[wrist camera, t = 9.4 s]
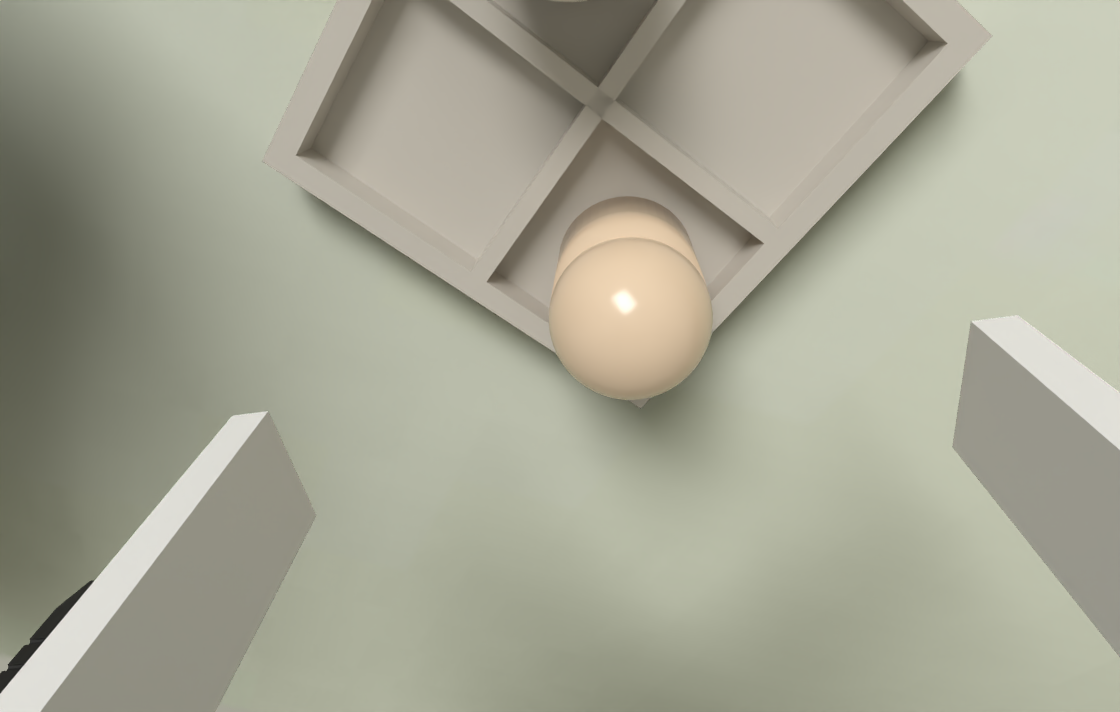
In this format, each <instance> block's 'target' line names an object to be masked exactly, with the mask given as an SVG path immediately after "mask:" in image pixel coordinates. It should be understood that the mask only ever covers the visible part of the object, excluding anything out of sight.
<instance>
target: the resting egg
mask: <svg viewBox="0 0 1120 712" xmlns="http://www.w3.org/2000/svg"><path fill="white" fill-rule="evenodd" d="M550 1H555V2H580V1H588V0H550Z"/></svg>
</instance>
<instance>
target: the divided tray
mask: <svg viewBox="0 0 1120 712" xmlns="http://www.w3.org/2000/svg"><path fill="white" fill-rule="evenodd" d="M991 37H992V35H991V34H990V33H989V32H988V31H987V30H986V29H985V28H984V27H983V26H982V25H981V24H980V23H979V22H978V21H977V20H976V19H975V18H974V17H973V16H972V15H971V14H970V13H969V12H968V11H967V10H966V9H965V8H964V7H963V6H962V5H961V4H960V3H959V2H958V1H957V0H588V1H580V2H555V1H550V0H337V2H336V4H335V6H334V8H333V10H332V12H331V14H330V17H329V19H328V21H327V23H326V25H325V27H324V29H323V32H322V34H321V36H320V38H319V40H318V42H317V44H316V47H315V49H314V51H313V53H312V55H311V57H310V59H309V61H308V64H307V66H306V68H305V70H304V72H303V74H302V76H301V79H300V81H299V83H298V85H297V87H296V89H295V91H294V94H293V96H292V98H291V100H290V102H289V104H288V106H287V109H286V111H285V113H284V115H283V117H282V119H281V121H280V124H279V126H278V128H277V130H276V132H275V134H274V136H273V139H272V141H271V143H270V145H269V147H268V149H267V151H266V153H265V156H264V158H263V160H262V162H264V163H265V164H267V165H268V166H270V167H271V168H273V169H274V170H276V171H277V172H279V173H281V174H282V175H284V176H285V177H287V178H288V179H290V180H291V181H293V182H294V183H296V184H297V185H299V186H300V187H302V188H303V189H305V190H307V191H308V192H310V193H311V194H313V195H314V196H316V197H317V198H319V199H320V200H322V201H323V202H325V203H326V204H328V205H329V206H331V207H333V208H334V209H336V210H337V211H339V212H340V213H342V214H343V215H345V216H346V217H348V218H349V219H351V220H352V221H354V222H356V223H357V224H359V225H360V226H362V227H363V228H365V229H366V230H368V231H369V232H371V233H372V234H374V235H375V236H377V237H378V238H380V239H382V240H383V241H385V242H386V243H388V244H389V245H391V246H392V247H394V248H395V249H397V250H398V251H400V252H401V253H403V254H405V255H406V256H408V257H409V258H411V259H412V260H414V261H415V262H417V263H418V264H420V265H421V266H423V267H424V268H426V269H427V270H429V271H431V272H432V273H434V274H435V275H437V276H438V277H440V278H441V279H443V280H444V281H446V282H447V283H449V284H450V285H452V286H454V287H455V288H457V289H458V290H460V291H461V292H463V293H464V294H466V295H467V296H469V297H470V298H472V299H473V300H475V301H476V302H478V303H480V304H481V305H483V306H484V307H486V308H487V309H489V310H490V311H492V312H493V313H495V314H496V315H498V316H499V317H501V318H502V319H504V320H506V321H507V322H509V323H510V324H512V325H513V326H515V327H516V328H518V329H519V330H521V331H522V332H524V333H525V334H527V335H529V336H530V337H532V338H533V339H535V340H536V341H538V342H539V343H541V344H542V345H544V346H545V347H547V348H548V349H550V350H551V351H553V352H555V353H556V351H555V349H554V347H553V343H552V340H551V336H550V331H549V306H550V300H551V295H552V289H553V284H554V278H555V273H556V267H557V262H558V257H559V251H560V246H561V243H562V240H563V237H564V235H565V233H566V231H567V230H568V228H569V226H570V225H571V223H572V222H573V221H574V220H575V219H576V218H577V217H578V216H579V215H580V214H581V213H582V212H583V211H585V210H586V209H588V208H589V207H591V206H592V205H594V204H596V203H598V202H601V201H603V200H606V199H610V198H614V197H622V196H633V197H640V198H645V199H649V200H652V201H654V202H656V203H658V204H661V205H662V206H664V207H665V208H667V209H668V210H670V211H671V212H672V213H673V214H674V215H675V216H676V217H677V218H678V219H679V220H680V221H681V223H682V224H683V226H684V227H685V229H686V231H687V233H688V235H689V237H690V240H691V243H692V246H693V249H694V251H695V254H696V257H697V260H698V263H699V265H700V268H701V271H702V274H703V277H704V279H705V282H706V286H707V288H708V291H709V294H710V298H711V303H712V310H713V325H712V332H711V334H712V333H713V332H714V331H715V329H716V328H717V327H718V326H719V325H720V324H721V323H722V322H723V321H724V320H725V319H726V318H727V317H728V316H729V315H730V314H731V313H732V311H733V310H734V309H735V308H736V307H737V306H738V305H739V304H740V303H741V302H742V301H743V300H744V299H745V298H746V297H747V296H748V295H749V293H750V292H751V291H752V290H753V289H754V288H755V287H756V286H757V285H758V284H759V283H760V282H761V281H762V280H763V279H764V278H765V277H766V275H767V274H768V273H769V272H770V271H771V270H772V269H773V268H774V267H775V266H776V265H777V264H778V263H779V262H780V261H781V260H782V259H783V257H784V256H785V255H786V254H787V253H788V252H789V251H790V250H791V249H792V248H793V247H794V246H795V245H796V244H797V243H798V242H799V241H800V239H801V238H802V237H803V236H804V235H805V234H806V233H807V232H808V231H809V230H810V229H811V228H812V227H813V226H814V225H815V224H816V223H817V221H818V220H819V219H820V218H821V217H822V216H823V215H824V214H825V213H826V212H827V211H828V210H829V209H830V208H831V207H832V206H833V205H834V203H835V202H836V201H837V200H838V199H839V198H840V197H841V196H842V195H843V194H844V193H845V192H846V191H847V190H848V189H849V188H850V187H851V186H852V184H853V183H854V182H855V181H856V180H857V179H858V178H859V177H860V176H861V175H862V174H863V173H864V172H865V171H866V170H867V169H868V168H869V166H870V165H871V164H872V163H873V162H874V161H875V160H876V159H877V158H878V157H879V156H880V155H881V154H882V153H883V152H884V151H885V150H886V148H887V147H888V146H889V145H890V144H891V143H892V142H893V141H894V140H895V139H896V138H897V137H898V136H899V135H900V134H901V133H902V132H903V130H904V129H905V128H906V127H907V126H908V125H909V124H910V123H911V122H912V121H913V120H914V119H915V118H916V117H917V116H918V115H919V114H920V112H921V111H922V110H923V109H924V108H925V107H926V106H927V105H928V104H929V103H930V102H931V101H932V100H933V99H934V98H935V97H936V96H937V94H938V93H939V92H940V91H941V90H942V89H943V88H944V87H945V86H946V85H947V84H948V83H949V82H950V81H951V80H952V79H953V78H954V76H955V75H956V74H957V73H958V72H959V71H960V70H961V69H962V68H963V67H964V66H965V65H966V64H967V63H968V62H969V61H970V60H971V58H972V57H973V56H974V55H975V54H976V53H977V52H978V51H979V50H980V49H981V48H982V47H983V46H984V45H985V44H986V43H987V42H988V40H989V39H990V38H991ZM650 398H651V397H650ZM650 398H645V399H638V400H628V401H630V402H631V403H633V404H634V405H636V406H637V407H639V408H640V409H641V408H642V407H643V406H644V405H645V404H646V403H647V401H648V400H649V399H650Z"/></svg>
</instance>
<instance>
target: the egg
mask: <svg viewBox="0 0 1120 712" xmlns="http://www.w3.org/2000/svg"><path fill="white" fill-rule="evenodd" d="M712 325H713V310H712V303H711V298H710V294H709V291H708V288H707V286H706V282H705V279H704V277H703V274H702V271H701V268H700V265H699V263H698V260H697V257H696V254H695V251H694V249H693V246H692V243H691V240H690V237H689V235H688V233H687V231H686V229H685V227H684V226H683V224H682V223H681V221H680V220H679V219H678V218H677V217H676V216H675V215H674V214H673V213H672V212H671V211H670V210H668V209H667V208H665V207H664V206H662V205H661V204H658V203H656V202H654V201H652V200H649V199H645V198H640V197H633V196H622V197H614V198H610V199H606V200H603V201H601V202H598V203H596V204H594V205H592V206H591V207H589V208H588V209H586V210H585V211H583V212H582V213H581V214H580V215H579V216H578V217H577V218H576V219H575V220H574V221H573V222H572V223H571V225H570V226H569V228H568V230H567V231H566V233H565V235H564V237H563V240H562V243H561V246H560V251H559V257H558V262H557V267H556V273H555V278H554V284H553V289H552V295H551V300H550V306H549V331H550V336H551V340H552V343H553V347H554V349H555V351H556V354H557V356H558V357H559V359H560V361H561V362H562V364H563V365H564V367H565V368H566V369H567V371H568V372H569V373H570V374H571V375H572V376H573V377H574V378H575V379H576V380H577V381H579V382H580V383H581V384H583V385H584V386H585V387H587V388H589V389H590V390H592V391H594V392H596V393H599V394H601V395H604V396H607V397H610V398H615V399H623V400H638V399H645V398H650V397H653V396H657V395H660V394H662V393H664V392H667V391H668V390H670V389H672V388H674V387H675V386H677V385H678V384H680V383H681V382H682V381H683V380H684V379H685V378H687V377H688V376H689V375H690V374H691V373H692V372H693V370H694V369H695V368H696V367H697V365H698V364H699V362H700V361H701V359H702V357H703V355H704V353H705V351H706V349H707V347H708V344H709V341H710V338H711V332H712Z"/></svg>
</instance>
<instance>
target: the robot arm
mask: <svg viewBox="0 0 1120 712" xmlns="http://www.w3.org/2000/svg"><path fill="white" fill-rule="evenodd" d="M952 447H953V449H954V450H955V451H956V452H957V454H958V455H959V456H960V457H961V459H962V460H963V461H964V462H965V464H966V465H967V466H968V467H969V469H970V470H971V471H972V472H973V474H974V475H975V476H976V477H977V479H978V480H979V481H980V482H981V484H982V485H983V486H984V487H985V489H986V490H987V491H988V492H989V494H990V495H991V496H992V497H993V499H994V500H995V501H996V502H997V504H998V505H999V506H1000V507H1001V509H1002V510H1003V511H1004V513H1005V514H1006V515H1007V516H1008V518H1009V519H1010V520H1011V521H1012V523H1013V524H1014V525H1015V526H1016V528H1017V529H1018V530H1019V531H1020V533H1021V534H1022V535H1023V536H1024V538H1025V539H1026V540H1027V541H1028V543H1029V544H1030V545H1031V546H1032V548H1033V549H1034V550H1035V551H1036V553H1037V554H1038V555H1039V556H1040V558H1041V559H1042V560H1043V561H1044V563H1045V564H1046V565H1047V566H1048V568H1049V569H1050V570H1051V571H1052V573H1053V574H1054V575H1055V576H1056V578H1057V579H1058V580H1059V582H1060V583H1061V584H1062V585H1063V587H1064V588H1065V589H1066V590H1067V592H1068V593H1069V594H1070V595H1071V597H1072V598H1073V599H1074V600H1075V602H1076V603H1077V604H1078V605H1079V607H1080V608H1081V609H1082V610H1083V612H1084V613H1085V614H1086V615H1087V617H1088V618H1089V619H1090V620H1091V622H1092V623H1093V624H1094V625H1095V627H1096V628H1097V629H1098V630H1099V632H1100V633H1101V634H1102V635H1103V637H1104V638H1105V639H1106V640H1107V642H1108V643H1109V644H1110V646H1111V647H1112V648H1113V649H1114V651H1115V652H1116V653H1117V654H1118V656H1119V657H1120V392H1118V391H1117V390H1116V389H1114V388H1113V387H1112V386H1111V385H1109V384H1108V383H1107V382H1105V381H1104V380H1103V379H1101V378H1100V377H1099V376H1097V375H1096V374H1095V373H1093V372H1092V371H1091V370H1089V369H1088V368H1087V367H1085V366H1084V365H1083V364H1081V363H1080V362H1079V361H1077V360H1076V359H1075V358H1074V357H1072V356H1071V355H1070V354H1068V353H1067V352H1066V351H1064V350H1063V349H1062V348H1060V347H1059V346H1058V345H1056V344H1055V343H1054V342H1052V341H1051V340H1050V339H1048V338H1047V337H1046V336H1044V335H1043V334H1042V333H1041V332H1039V331H1038V330H1037V329H1035V328H1034V327H1033V326H1031V325H1030V324H1029V323H1027V322H1026V321H1025V320H1023V319H1022V318H1021V317H1019V316H1018V315H1016V316H1008V317H1000V318H992V319H984V320H976V321H971V324H970V331H969V338H968V345H967V351H966V358H965V365H964V372H963V378H962V385H961V392H960V399H959V406H958V412H957V419H956V426H955V433H954V439H953V446H952ZM315 517H316V513H315V511H314V509H313V507H312V505H311V502H310V500H309V498H308V496H307V494H306V492H305V489H304V487H303V485H302V483H301V481H300V479H299V476H298V474H297V472H296V470H295V468H294V466H293V463H292V461H291V459H290V457H289V455H288V453H287V451H286V448H285V446H284V444H283V442H282V440H281V438H280V435H279V433H278V431H277V429H276V427H275V425H274V422H273V420H272V418H271V416H270V414H269V412H268V411H265V412H257V413H249V414H242V415H234V416H232V417H231V418H230V419H229V420H228V421H227V423H226V424H225V425H224V426H223V427H222V429H221V430H220V431H219V432H218V433H217V435H216V436H215V437H214V438H213V439H212V441H211V442H210V443H209V444H208V445H207V447H206V448H205V449H204V450H203V451H202V453H201V454H200V455H199V456H198V457H197V459H196V460H195V461H194V462H193V463H192V465H191V466H190V467H189V468H188V469H187V471H186V472H185V473H184V474H183V475H182V476H181V478H180V479H179V480H178V481H177V482H176V484H175V485H174V486H173V487H172V488H171V490H170V491H169V492H168V493H167V494H166V496H165V497H164V498H163V499H162V500H161V502H160V503H159V504H158V505H157V506H156V508H155V509H154V510H153V511H152V512H151V514H150V515H149V516H148V517H147V518H146V520H145V521H144V522H143V523H142V524H141V526H140V527H139V528H138V529H137V530H136V532H135V533H134V534H133V535H132V536H131V538H130V539H129V540H128V541H127V542H126V544H125V545H124V546H123V547H122V548H121V550H120V551H119V552H118V553H117V554H116V556H115V557H114V558H113V559H112V560H111V562H110V563H109V564H108V565H107V566H106V568H105V569H104V570H103V571H102V572H101V574H100V575H99V576H98V577H97V578H96V580H94V581H90V582H88V583H87V584H86V585H85V586H83V587H82V588H81V589H80V590H78V591H77V592H76V593H75V594H73V595H72V596H71V597H70V598H69V599H67V600H66V601H65V602H64V603H62V604H61V605H60V606H59V607H57V608H56V609H55V610H54V612H53V613H52V614H51V615H50V616H49V617H48V619H47V620H46V621H45V622H44V623H43V624H42V626H41V627H40V628H39V629H38V630H37V631H36V633H35V634H34V635H33V636H32V637H31V638H30V644H29V645H24V646H23V648H22V649H21V650H20V651H19V652H18V653H17V655H16V656H15V657H14V658H13V659H12V660H11V662H10V663H9V664H8V670H7V671H2V672H1V673H0V712H215V711H216V709H217V707H218V705H219V703H220V702H221V700H222V698H223V696H224V694H225V692H226V690H227V688H228V686H229V684H230V682H231V680H232V678H233V676H234V674H235V672H236V671H237V669H238V667H239V665H240V663H241V661H242V659H243V657H244V655H245V653H246V651H247V649H248V647H249V645H250V643H251V641H252V640H253V638H254V636H255V634H256V632H257V630H258V628H259V626H260V624H261V622H262V620H263V618H264V616H265V614H266V612H267V610H268V609H269V607H270V605H271V603H272V601H273V599H274V597H275V595H276V593H277V591H278V589H279V587H280V585H281V583H282V581H283V579H284V577H285V576H286V574H287V572H288V570H289V568H290V566H291V564H292V562H293V560H294V558H295V556H296V554H297V552H298V550H299V548H300V546H301V545H302V543H303V541H304V539H305V537H306V535H307V533H308V531H309V529H310V527H311V525H312V523H313V521H314V519H315Z"/></svg>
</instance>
